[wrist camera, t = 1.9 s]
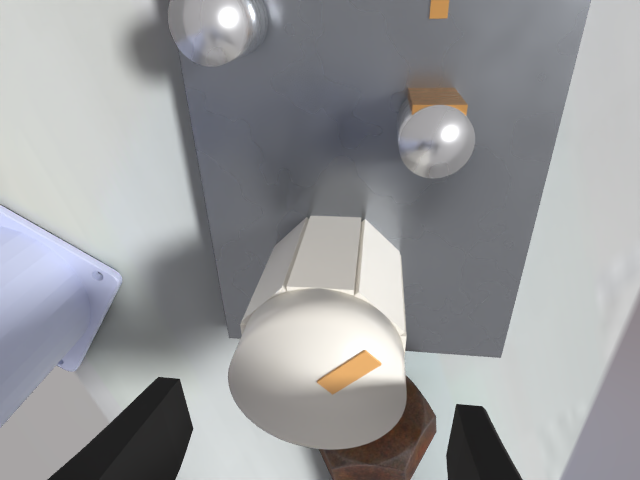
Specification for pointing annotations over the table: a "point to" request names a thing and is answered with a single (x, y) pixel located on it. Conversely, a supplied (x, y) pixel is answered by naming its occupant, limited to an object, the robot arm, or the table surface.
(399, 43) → the plate
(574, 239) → the table surface
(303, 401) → the knob
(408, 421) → the bolt
